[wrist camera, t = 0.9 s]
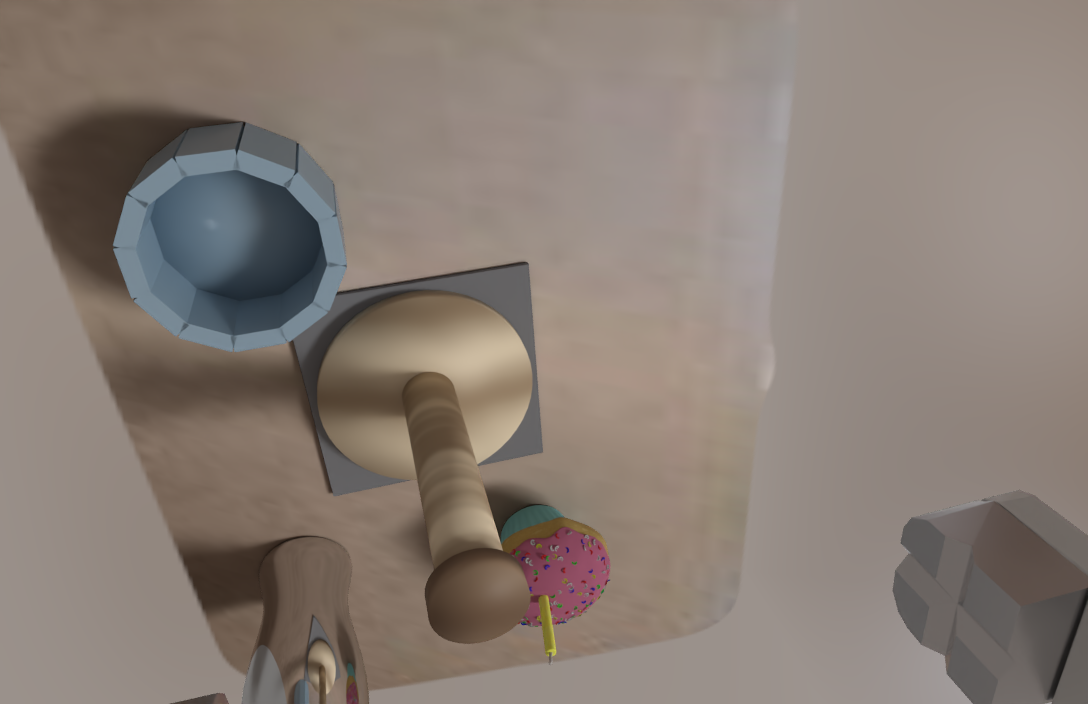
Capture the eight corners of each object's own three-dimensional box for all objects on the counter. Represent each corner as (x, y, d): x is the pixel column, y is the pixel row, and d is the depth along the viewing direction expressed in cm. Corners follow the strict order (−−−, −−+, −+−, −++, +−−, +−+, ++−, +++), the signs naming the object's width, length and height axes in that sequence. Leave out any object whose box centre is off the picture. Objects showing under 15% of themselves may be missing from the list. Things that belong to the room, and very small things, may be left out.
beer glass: (254, 611, 54) (238, 828, 42) (249, 534, 51) (230, 744, 38) (358, 601, 56) (372, 804, 43) (359, 526, 53) (375, 722, 40)
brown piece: (295, 310, 44) (288, 527, 29) (520, 273, 46) (623, 455, 31) (340, 488, 50) (353, 740, 35) (535, 447, 53) (625, 667, 38)
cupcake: (465, 572, 57) (498, 715, 47) (490, 479, 54) (532, 613, 44) (573, 571, 60) (626, 706, 50) (604, 484, 57) (668, 610, 46)
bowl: (108, 138, 37) (83, 168, 33) (319, 112, 39) (320, 138, 35) (171, 319, 42) (156, 365, 38) (355, 289, 44) (360, 330, 40)
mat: (283, 301, 44) (283, 304, 43) (527, 262, 46) (528, 264, 46) (333, 493, 51) (333, 496, 51) (541, 449, 53) (542, 452, 53)
